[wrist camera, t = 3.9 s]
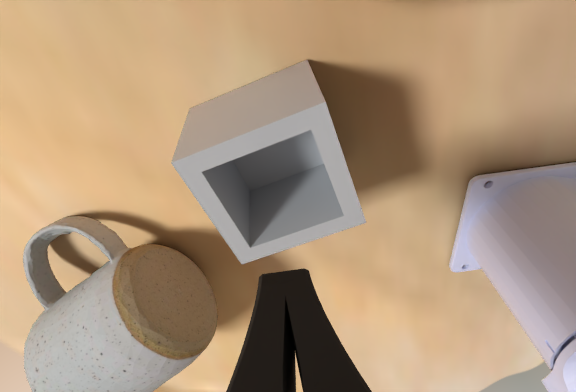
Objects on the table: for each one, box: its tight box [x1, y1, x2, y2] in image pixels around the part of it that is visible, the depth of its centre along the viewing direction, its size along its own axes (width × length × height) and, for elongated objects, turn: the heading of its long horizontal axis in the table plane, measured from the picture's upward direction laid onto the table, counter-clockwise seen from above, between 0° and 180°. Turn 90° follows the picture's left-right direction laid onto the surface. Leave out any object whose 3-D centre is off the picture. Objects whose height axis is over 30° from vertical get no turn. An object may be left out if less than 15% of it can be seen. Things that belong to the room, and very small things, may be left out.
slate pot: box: [171, 60, 366, 264], centre depth 17 cm, size 6×6×5 cm
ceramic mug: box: [23, 216, 218, 392], centre depth 20 cm, size 11×8×8 cm
